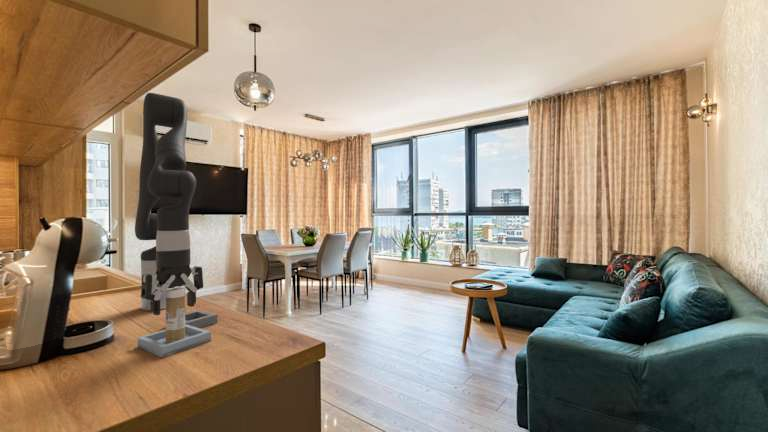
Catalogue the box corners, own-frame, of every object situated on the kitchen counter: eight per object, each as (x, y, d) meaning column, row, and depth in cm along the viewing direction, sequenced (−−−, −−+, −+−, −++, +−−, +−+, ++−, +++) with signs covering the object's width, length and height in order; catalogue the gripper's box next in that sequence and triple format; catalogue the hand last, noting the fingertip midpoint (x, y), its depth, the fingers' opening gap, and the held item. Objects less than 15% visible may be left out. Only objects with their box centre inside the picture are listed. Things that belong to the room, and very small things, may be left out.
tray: (137, 347, 87) (137, 337, 87) (185, 332, 98) (185, 324, 98) (162, 357, 81) (162, 347, 81) (210, 340, 91) (210, 331, 91)
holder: (167, 326, 103) (167, 317, 103) (199, 317, 111) (199, 309, 111) (185, 332, 98) (185, 323, 98) (217, 322, 106) (217, 314, 106)
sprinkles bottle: (161, 342, 88) (160, 290, 88) (177, 336, 92) (176, 286, 92) (174, 344, 87) (173, 291, 86) (190, 338, 91) (189, 287, 91)
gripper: (192, 244, 97) (193, 301, 97) (135, 249, 85) (136, 315, 85) (208, 246, 93) (209, 305, 93) (150, 251, 81) (151, 320, 81)
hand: (174, 310), depth 89 cm, fingers open, 8 cm apart
